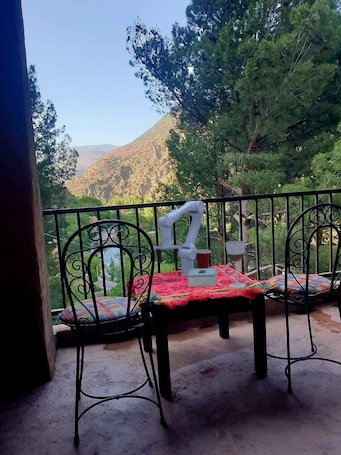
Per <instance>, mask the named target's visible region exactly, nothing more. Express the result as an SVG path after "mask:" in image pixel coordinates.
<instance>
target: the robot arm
mask: <svg viewBox="0 0 341 455" xmlns="http://www.w3.org/2000/svg"><path fill="white" fill-rule="evenodd" d="M205 208H206V207H205V203H204V202H203V201H202V200H188V201H186V202H185V203H184V204H183V205H182V206H181V207H179V208H178V209H171V210H170V212H169V213H165V215H164V216H161V217H159V218H158V221H157V225H158V227H159V230H160V239H161V245H156V246H153V250H154V249H155V250H154V251H155V253H156V255H157V257H158V260H159V264H162V263H163V259H162V258H163V257H162V251H164V250H165V251H168V250H169V251H170V250H172V253H173V254H172V255H173V264H175V263H176V262H177V256H178V258H179V259H180V261H181V262H180V263H181V275H180V277H181V278H182V277H188V276H187V275H188V273H189V271H190V269H195V260H196V250H198V248H197V247H196V246H195V244H196V240H197V237H198V233H199V230H200V227H201V225H202V220H203V215H204V211H205ZM187 212H188V213H189V215H190V216H191V217H192V219H191V223H190V226H189V229H188V233H187V236H186V239H185V241H184V243H183V244H181V245H178V244H177V245H173V240H172V226H173V223H175V222H177V220H179V219H180V218H181V215H184V214H185V213H187Z"/></svg>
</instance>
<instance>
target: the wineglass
mask: <svg viewBox="0 0 341 455" xmlns="http://www.w3.org/2000/svg"><path fill="white" fill-rule="evenodd" d="M225 249H226V255H227V257H228V258H229V259H230V260H231V261H234V263H235V278H236V282H235V283H231V284H229V285H228V286H229V287H231V288H233V289H235V288H245V287H246V286H245V285H246V284H245V283H243V282H242V283H241V282H239V272H238V262H239V261H241V260H242V259H243V258H244V256H245V251H246V242H245V241H244V240H231V241H226V242H225ZM244 286H245V287H244Z"/></svg>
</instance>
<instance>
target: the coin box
mask: <svg viewBox="0 0 341 455" xmlns="http://www.w3.org/2000/svg"><path fill="white" fill-rule="evenodd" d="M217 276H218V275H217V268H216V267H214V268H213V267H212V268H210V267H208V268H207V269H198V268H194V269H190V271H189V273H188V275H187V276H186V277H187V287H188V288H193V287H195V288H196V287H216V285H217V281H218V280H217V279H218V277H217Z"/></svg>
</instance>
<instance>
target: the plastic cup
mask: <svg viewBox="0 0 341 455" xmlns="http://www.w3.org/2000/svg"><path fill="white" fill-rule="evenodd" d="M211 253H212V250H210V249H201V248H200V249H197V250H196V257H195V260H196V264H197V269H207V268H210V267H209V266H210V259H211V258H210V257H211V255H212V254H211Z"/></svg>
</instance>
